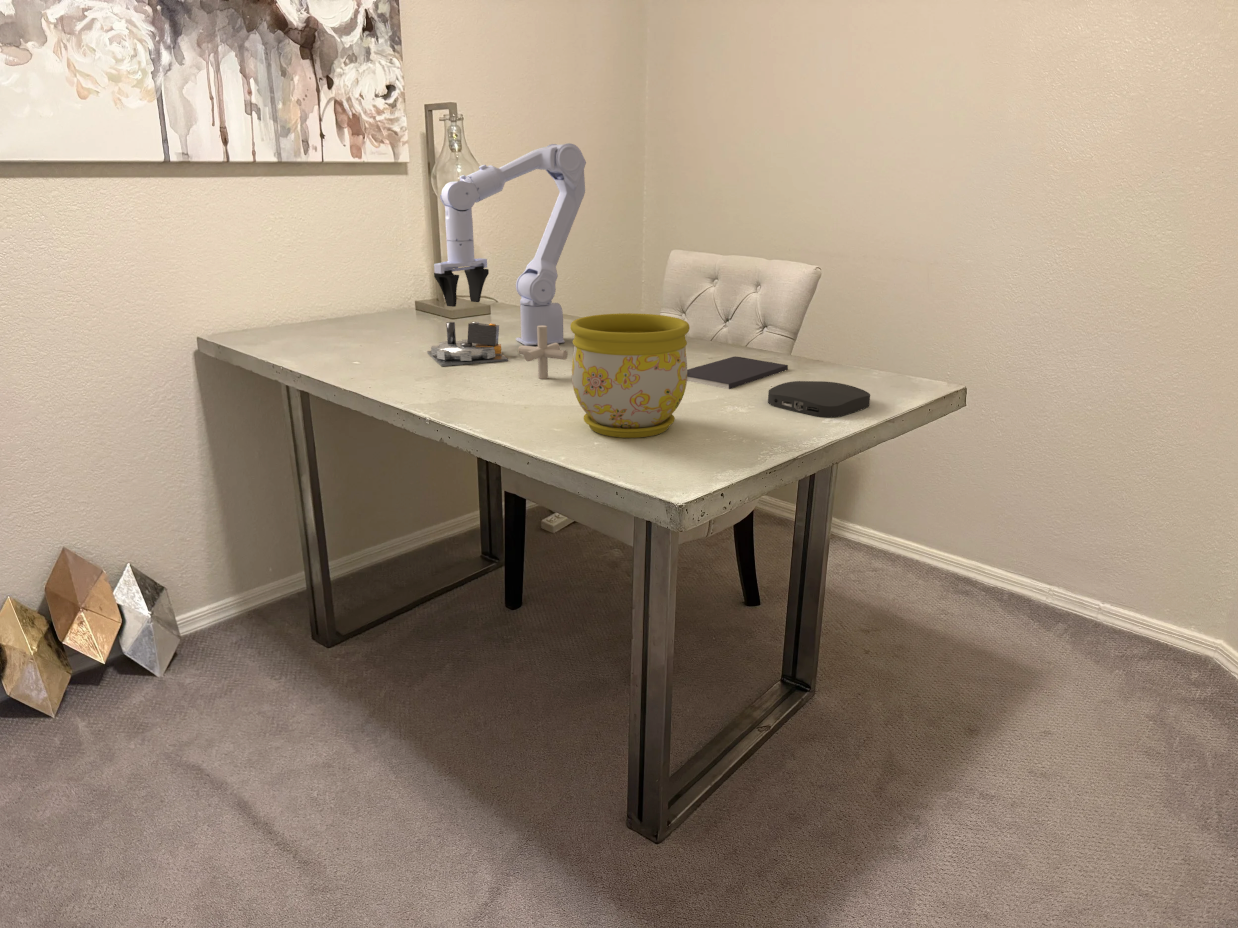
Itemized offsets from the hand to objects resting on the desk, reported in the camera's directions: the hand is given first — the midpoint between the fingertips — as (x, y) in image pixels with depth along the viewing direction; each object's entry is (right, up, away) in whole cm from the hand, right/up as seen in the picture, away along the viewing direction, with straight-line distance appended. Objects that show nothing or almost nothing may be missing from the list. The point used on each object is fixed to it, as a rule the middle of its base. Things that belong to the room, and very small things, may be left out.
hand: (463, 304), depth 187 cm
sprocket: (+2, -12, -5) cm, 14 cm away
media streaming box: (+69, -25, -39) cm, 83 cm away
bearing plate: (+2, -12, -5) cm, 14 cm away
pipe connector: (+20, -19, -23) cm, 35 cm away
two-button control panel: (+5, -9, -5) cm, 12 cm away
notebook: (+57, -18, -18) cm, 62 cm away
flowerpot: (+36, -29, -53) cm, 70 cm away
